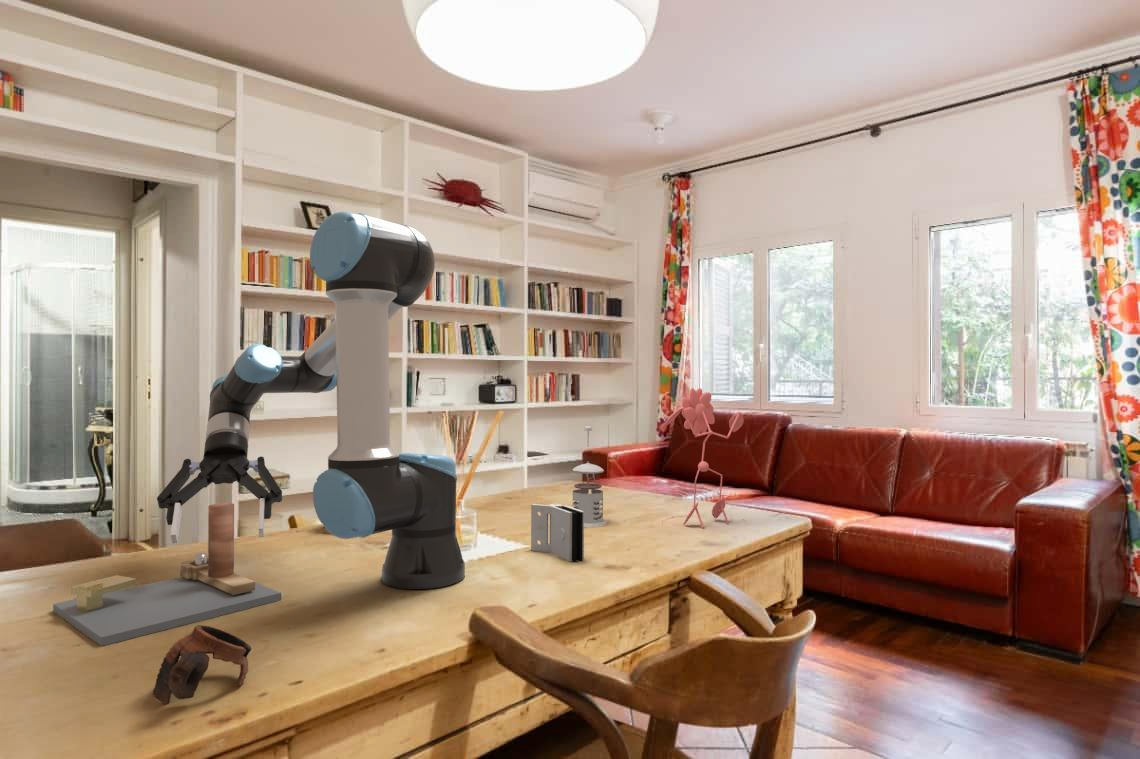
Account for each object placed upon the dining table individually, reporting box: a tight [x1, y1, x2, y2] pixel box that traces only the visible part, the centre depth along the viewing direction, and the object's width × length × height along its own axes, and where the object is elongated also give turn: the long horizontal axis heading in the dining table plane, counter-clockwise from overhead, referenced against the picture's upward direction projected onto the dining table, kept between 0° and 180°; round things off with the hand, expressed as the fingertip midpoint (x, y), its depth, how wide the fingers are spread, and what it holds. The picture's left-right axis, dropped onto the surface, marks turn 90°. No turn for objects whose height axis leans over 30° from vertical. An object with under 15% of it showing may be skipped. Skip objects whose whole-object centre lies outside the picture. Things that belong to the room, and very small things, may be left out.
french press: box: [571, 425, 608, 528], centre depth 179 cm, size 10×12×25 cm
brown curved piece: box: [152, 624, 252, 705], centre depth 82 cm, size 12×10×8 cm
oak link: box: [179, 502, 256, 595], centre depth 120 cm, size 19×6×13 cm, turn 51°
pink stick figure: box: [660, 387, 747, 529], centre depth 181 cm, size 15×26×35 cm, turn 126°
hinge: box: [530, 503, 585, 563], centre depth 147 cm, size 14×5×10 cm, turn 43°
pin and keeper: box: [70, 552, 208, 612], centre depth 116 cm, size 5×21×4 cm, turn 156°
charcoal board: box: [52, 576, 282, 647], centre depth 113 cm, size 22×26×1 cm
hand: (218, 536), depth 121 cm, fingers open, 13 cm apart
